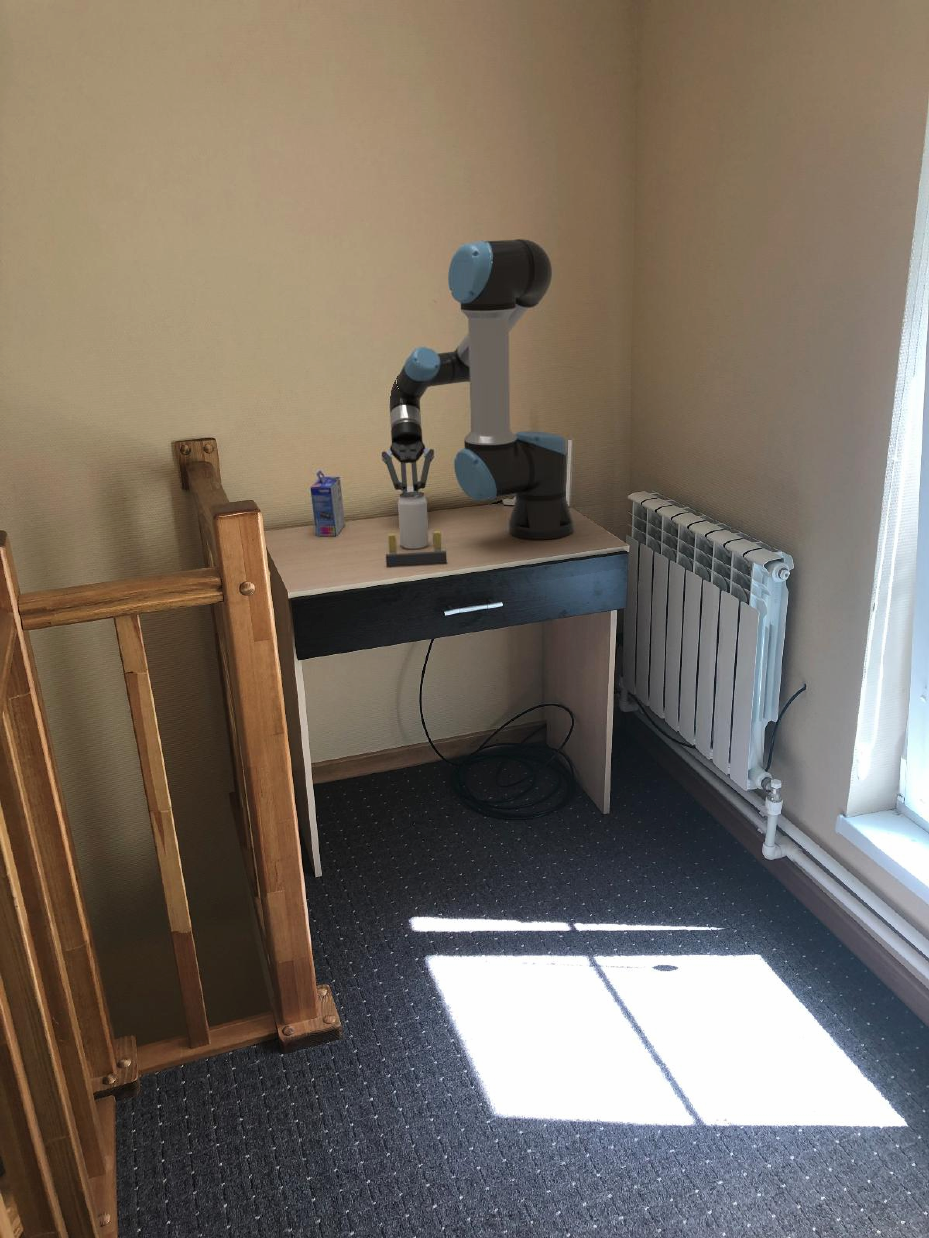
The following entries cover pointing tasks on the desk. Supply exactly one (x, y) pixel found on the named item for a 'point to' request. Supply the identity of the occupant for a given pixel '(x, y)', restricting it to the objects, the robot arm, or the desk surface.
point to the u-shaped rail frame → (416, 554)
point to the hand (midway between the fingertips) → (411, 513)
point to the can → (413, 520)
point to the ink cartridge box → (327, 505)
